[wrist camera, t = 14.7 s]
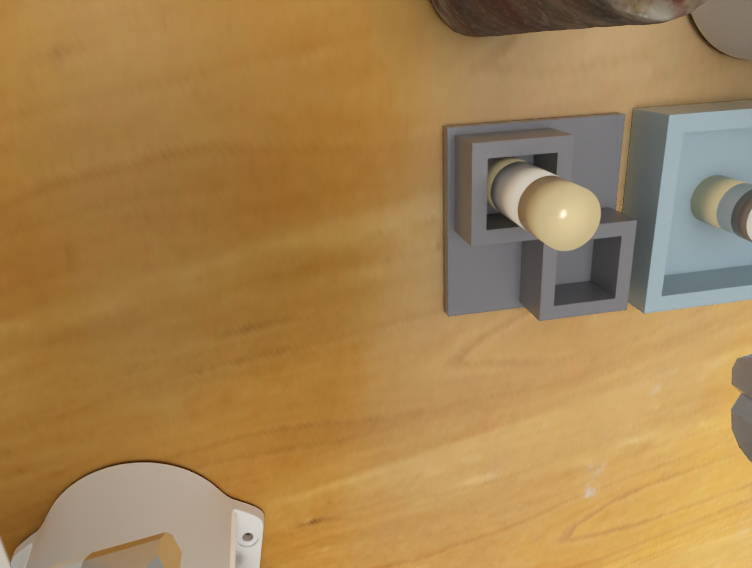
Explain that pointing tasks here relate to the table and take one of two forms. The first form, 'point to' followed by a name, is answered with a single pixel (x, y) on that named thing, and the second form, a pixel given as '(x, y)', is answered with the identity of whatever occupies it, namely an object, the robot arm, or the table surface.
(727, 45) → the cylinder vase
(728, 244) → the parts tray
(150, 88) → the table surface
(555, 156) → the fuse holder
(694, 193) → the fuse
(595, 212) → the cylinder
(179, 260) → the table surface
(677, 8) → the candle
